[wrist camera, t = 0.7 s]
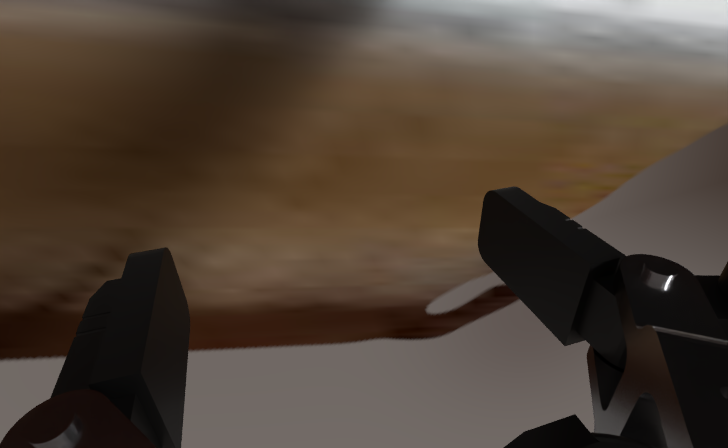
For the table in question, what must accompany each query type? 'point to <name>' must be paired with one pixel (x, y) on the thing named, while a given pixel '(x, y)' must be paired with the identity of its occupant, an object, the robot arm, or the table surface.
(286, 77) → the table surface
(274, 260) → the table surface
